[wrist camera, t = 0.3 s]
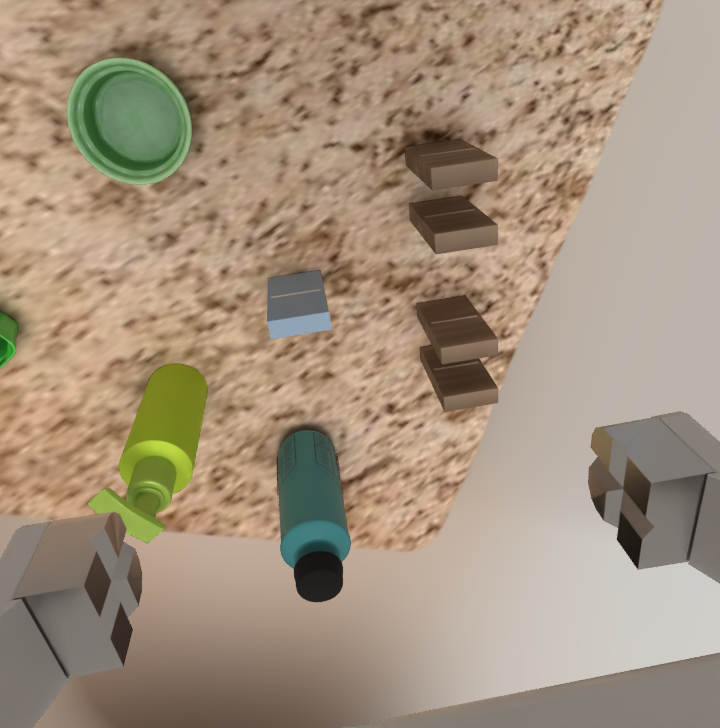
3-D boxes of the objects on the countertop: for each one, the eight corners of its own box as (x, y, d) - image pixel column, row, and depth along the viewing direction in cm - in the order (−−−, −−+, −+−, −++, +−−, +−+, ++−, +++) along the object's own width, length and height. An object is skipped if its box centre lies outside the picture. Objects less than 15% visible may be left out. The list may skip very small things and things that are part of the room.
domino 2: (404, 146, 52) (431, 168, 44) (460, 138, 53) (497, 158, 44) (406, 165, 53) (432, 190, 44) (460, 157, 53) (497, 180, 45)
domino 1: (268, 277, 56) (267, 321, 48) (320, 269, 57) (328, 311, 48) (271, 293, 57) (270, 339, 48) (322, 285, 57) (331, 329, 49)
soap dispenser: (166, 346, 58) (120, 476, 41) (219, 388, 61) (198, 526, 44) (127, 383, 60) (67, 524, 42) (181, 422, 63) (146, 570, 45)
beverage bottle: (266, 433, 65) (264, 578, 47) (323, 411, 64) (341, 549, 47) (290, 475, 68) (297, 626, 50) (344, 454, 67) (370, 599, 50)
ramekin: (211, 162, 51) (206, 172, 47) (108, 184, 51) (94, 196, 47) (177, 45, 47) (169, 46, 43) (63, 68, 46) (45, 71, 43)
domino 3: (408, 203, 55) (434, 234, 46) (462, 195, 55) (497, 224, 46) (410, 220, 56) (435, 254, 47) (462, 212, 56) (497, 244, 47)
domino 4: (416, 303, 60) (441, 348, 51) (465, 295, 60) (497, 338, 51) (417, 317, 60) (442, 364, 52) (465, 309, 61) (498, 355, 52)
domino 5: (419, 346, 62) (443, 397, 53) (466, 339, 62) (498, 387, 54) (420, 360, 63) (444, 412, 54) (467, 352, 63) (498, 402, 54)
